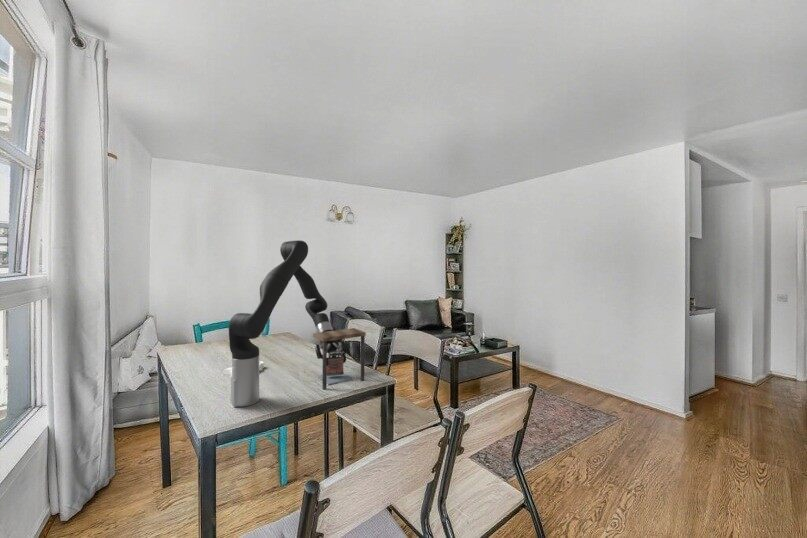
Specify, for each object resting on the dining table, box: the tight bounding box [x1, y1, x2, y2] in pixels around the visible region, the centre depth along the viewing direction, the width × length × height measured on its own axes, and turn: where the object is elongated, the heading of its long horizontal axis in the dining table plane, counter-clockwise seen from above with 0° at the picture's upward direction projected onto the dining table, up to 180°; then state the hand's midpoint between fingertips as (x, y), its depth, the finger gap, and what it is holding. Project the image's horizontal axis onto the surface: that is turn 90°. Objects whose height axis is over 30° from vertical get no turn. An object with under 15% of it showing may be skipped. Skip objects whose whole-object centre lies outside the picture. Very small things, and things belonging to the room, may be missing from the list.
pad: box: [317, 372, 354, 386], centre depth 152 cm, size 12×12×1 cm
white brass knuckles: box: [222, 360, 265, 379], centre depth 159 cm, size 3×18×15 cm
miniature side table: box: [312, 327, 367, 390], centre depth 148 cm, size 20×11×22 cm, turn 126°
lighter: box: [327, 352, 345, 376], centre depth 152 cm, size 8×3×10 cm, turn 105°
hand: (336, 363), depth 151 cm, fingers closed on lighter, 8 cm apart
